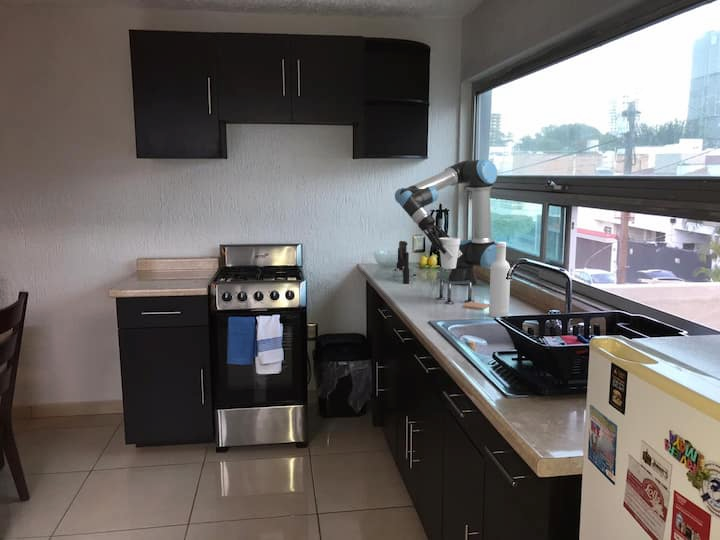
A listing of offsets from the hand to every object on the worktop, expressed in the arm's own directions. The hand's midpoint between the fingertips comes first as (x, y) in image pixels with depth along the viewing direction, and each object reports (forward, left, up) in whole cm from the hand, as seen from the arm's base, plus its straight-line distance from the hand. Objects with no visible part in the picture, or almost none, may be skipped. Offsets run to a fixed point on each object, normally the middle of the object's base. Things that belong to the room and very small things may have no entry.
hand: (455, 257), depth 256 cm
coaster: (+1, +10, -21) cm, 23 cm away
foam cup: (0, -3, -5) cm, 6 cm away
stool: (-44, -50, -21) cm, 70 cm away
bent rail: (-4, -3, -21) cm, 22 cm away
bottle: (+12, +24, -21) cm, 35 cm away
